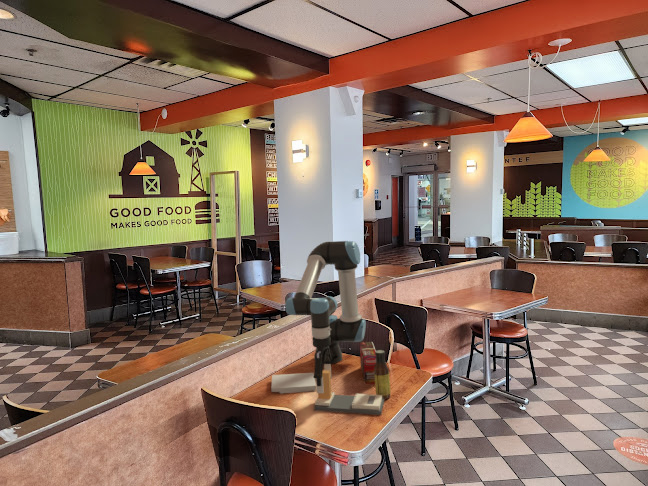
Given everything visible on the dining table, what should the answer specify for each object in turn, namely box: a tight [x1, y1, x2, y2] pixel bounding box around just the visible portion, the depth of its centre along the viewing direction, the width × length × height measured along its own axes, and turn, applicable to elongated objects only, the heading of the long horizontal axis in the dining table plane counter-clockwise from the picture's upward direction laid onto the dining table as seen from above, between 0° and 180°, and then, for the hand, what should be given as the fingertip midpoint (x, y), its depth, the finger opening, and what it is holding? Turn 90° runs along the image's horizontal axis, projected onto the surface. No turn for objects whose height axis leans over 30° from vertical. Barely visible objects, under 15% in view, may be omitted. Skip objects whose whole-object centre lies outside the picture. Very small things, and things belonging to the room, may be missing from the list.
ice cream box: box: [359, 341, 377, 385], centre depth 207 cm, size 20×6×13 cm, turn 1°
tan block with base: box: [314, 369, 336, 406], centre depth 179 cm, size 10×6×12 cm, turn 166°
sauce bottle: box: [374, 349, 392, 400], centre depth 183 cm, size 6×6×20 cm
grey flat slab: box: [270, 372, 317, 395], centre depth 200 cm, size 15×3×20 cm
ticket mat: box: [313, 393, 385, 416], centre depth 177 cm, size 12×27×3 cm, turn 76°
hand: (324, 385), depth 179 cm, fingers open, 13 cm apart
